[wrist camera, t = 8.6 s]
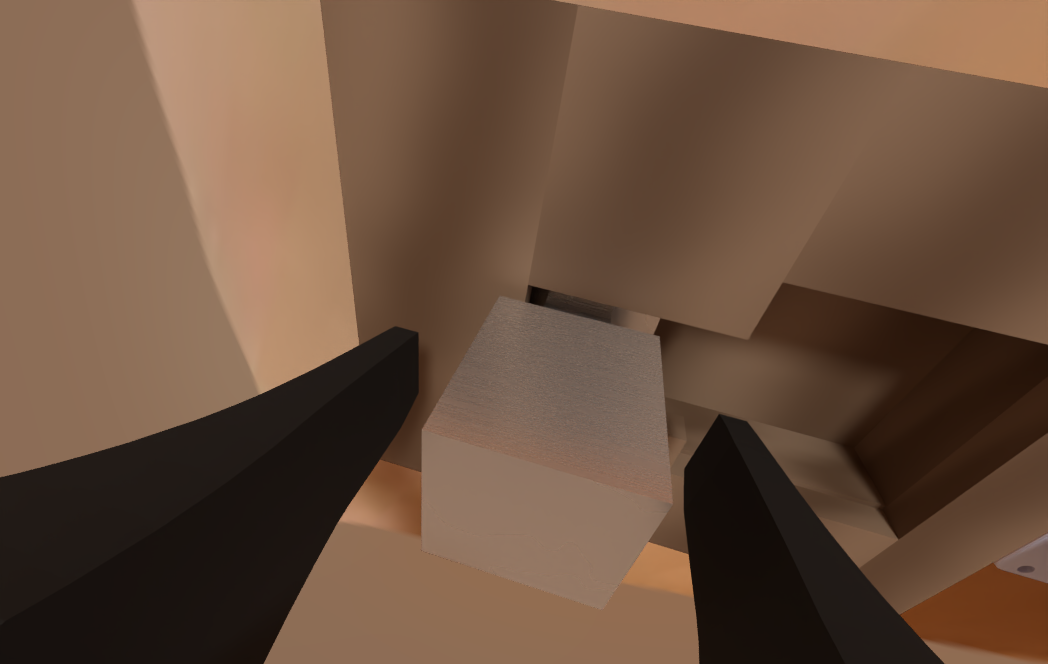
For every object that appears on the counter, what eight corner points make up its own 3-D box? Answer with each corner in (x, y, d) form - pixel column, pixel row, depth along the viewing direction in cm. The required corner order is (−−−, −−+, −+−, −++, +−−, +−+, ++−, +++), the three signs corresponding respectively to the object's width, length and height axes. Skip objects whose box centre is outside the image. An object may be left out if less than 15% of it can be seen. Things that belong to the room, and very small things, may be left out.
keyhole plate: (1253, 141, 9) (1649, 195, 6) (843, 506, 18) (894, 617, 14) (419, -10, 11) (315, -43, 7) (419, 385, 20) (372, 456, 16)
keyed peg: (675, 257, 12) (721, 494, 6) (627, 376, 15) (619, 626, 9) (519, 221, 13) (391, 399, 6) (501, 342, 16) (400, 554, 9)
